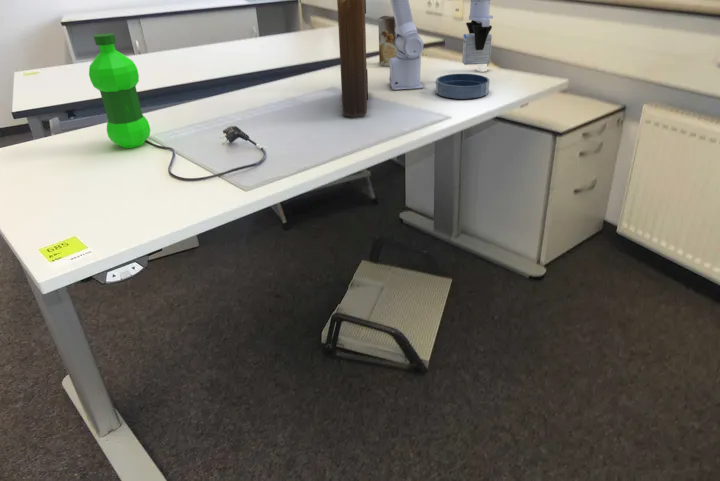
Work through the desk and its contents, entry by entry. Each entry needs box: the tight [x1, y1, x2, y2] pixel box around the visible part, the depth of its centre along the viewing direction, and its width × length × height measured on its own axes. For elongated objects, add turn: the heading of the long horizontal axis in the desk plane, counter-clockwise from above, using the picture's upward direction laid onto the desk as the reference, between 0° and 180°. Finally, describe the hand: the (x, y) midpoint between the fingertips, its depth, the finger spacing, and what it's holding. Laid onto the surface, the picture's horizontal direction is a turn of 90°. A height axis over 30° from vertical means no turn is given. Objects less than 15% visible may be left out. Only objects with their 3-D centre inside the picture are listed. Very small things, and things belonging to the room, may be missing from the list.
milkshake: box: [476, 39, 495, 73], centre depth 178 cm, size 4×5×10 cm
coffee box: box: [377, 15, 399, 67], centre depth 189 cm, size 9×6×16 cm
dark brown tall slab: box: [336, 0, 369, 118], centre depth 143 cm, size 23×7×30 cm, turn 179°
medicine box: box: [462, 32, 493, 66], centre depth 166 cm, size 8×4×9 cm, turn 92°
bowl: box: [435, 73, 490, 100], centre depth 157 cm, size 15×15×4 cm
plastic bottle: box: [88, 32, 151, 149], centre depth 123 cm, size 10×10×25 cm
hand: (477, 48), depth 166 cm, fingers closed on medicine box, 4 cm apart
